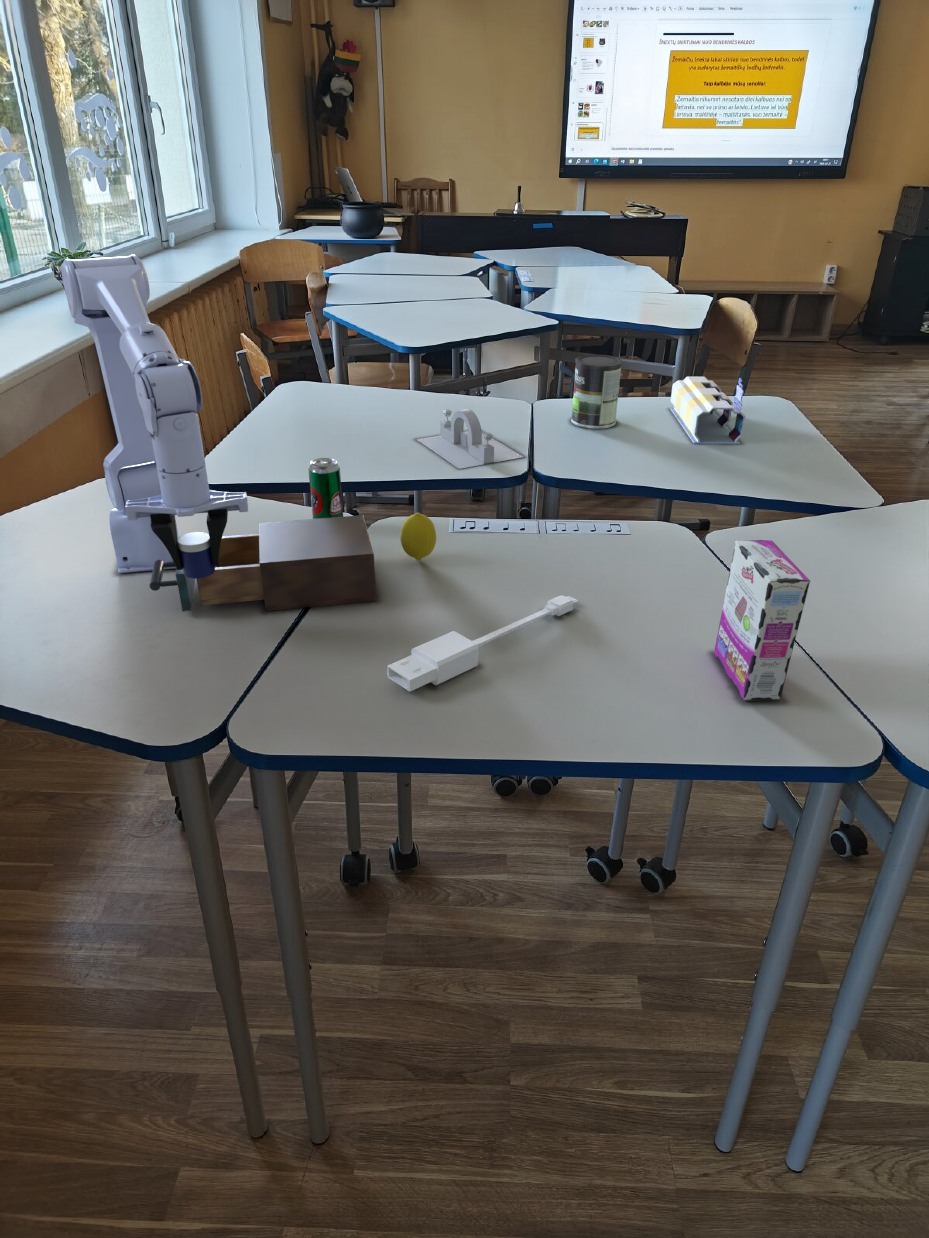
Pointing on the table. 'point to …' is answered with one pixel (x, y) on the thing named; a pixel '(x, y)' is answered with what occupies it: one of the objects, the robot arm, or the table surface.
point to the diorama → (707, 411)
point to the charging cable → (458, 651)
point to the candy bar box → (760, 619)
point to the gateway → (467, 442)
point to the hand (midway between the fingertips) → (197, 564)
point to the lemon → (418, 536)
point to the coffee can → (596, 391)
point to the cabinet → (316, 562)
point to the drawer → (220, 575)
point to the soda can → (325, 488)
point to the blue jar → (196, 555)
